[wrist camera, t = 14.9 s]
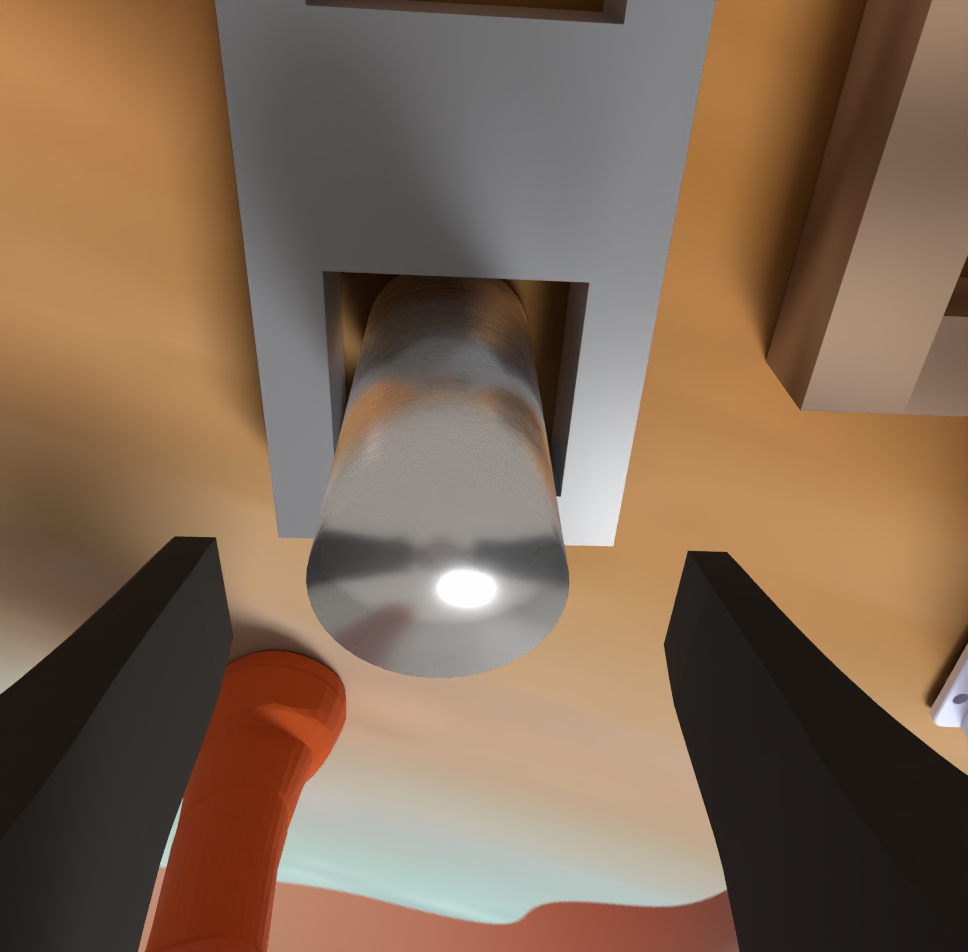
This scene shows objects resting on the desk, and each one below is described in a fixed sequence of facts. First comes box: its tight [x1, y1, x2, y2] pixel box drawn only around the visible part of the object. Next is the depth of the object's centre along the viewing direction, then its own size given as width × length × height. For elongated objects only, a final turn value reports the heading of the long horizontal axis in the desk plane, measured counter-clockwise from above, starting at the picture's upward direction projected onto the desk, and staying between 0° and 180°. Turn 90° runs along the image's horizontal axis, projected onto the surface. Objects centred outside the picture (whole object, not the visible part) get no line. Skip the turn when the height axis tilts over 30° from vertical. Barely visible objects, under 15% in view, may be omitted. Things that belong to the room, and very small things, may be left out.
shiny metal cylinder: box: [306, 274, 569, 678], centre depth 16 cm, size 4×4×9 cm
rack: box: [215, 0, 716, 546], centre depth 16 cm, size 18×8×2 cm, turn 177°
